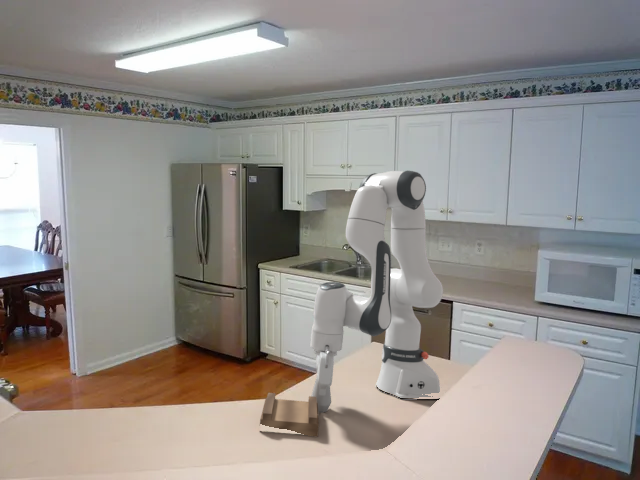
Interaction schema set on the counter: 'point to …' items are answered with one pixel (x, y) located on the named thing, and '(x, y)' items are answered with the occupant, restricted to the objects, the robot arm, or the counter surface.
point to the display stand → (291, 415)
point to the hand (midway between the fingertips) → (321, 391)
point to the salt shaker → (321, 397)
